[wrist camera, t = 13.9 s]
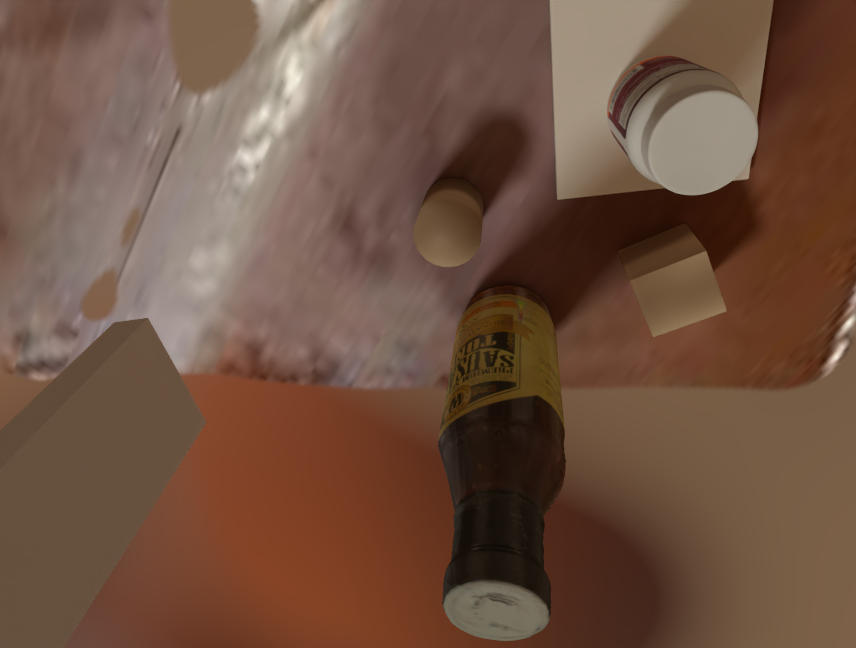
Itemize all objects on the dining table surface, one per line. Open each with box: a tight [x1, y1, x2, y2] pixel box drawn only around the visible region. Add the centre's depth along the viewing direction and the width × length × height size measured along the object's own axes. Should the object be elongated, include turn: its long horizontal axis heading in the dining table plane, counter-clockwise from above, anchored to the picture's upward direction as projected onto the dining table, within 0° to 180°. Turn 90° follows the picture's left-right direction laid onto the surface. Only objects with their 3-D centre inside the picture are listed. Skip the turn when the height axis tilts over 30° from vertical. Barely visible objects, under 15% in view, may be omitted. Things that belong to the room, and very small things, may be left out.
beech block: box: [617, 223, 727, 337], centre depth 32 cm, size 4×4×4 cm
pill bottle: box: [607, 55, 758, 195], centre depth 25 cm, size 5×5×8 cm
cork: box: [413, 177, 484, 267], centre depth 31 cm, size 4×4×4 cm
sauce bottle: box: [438, 285, 566, 641], centre depth 29 cm, size 6×6×20 cm
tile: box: [549, 0, 774, 200], centre depth 29 cm, size 10×10×1 cm
